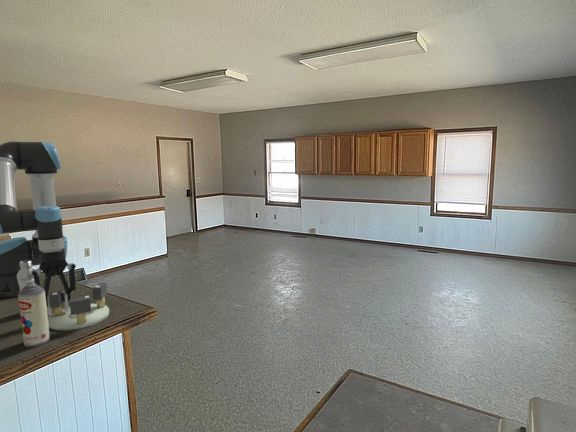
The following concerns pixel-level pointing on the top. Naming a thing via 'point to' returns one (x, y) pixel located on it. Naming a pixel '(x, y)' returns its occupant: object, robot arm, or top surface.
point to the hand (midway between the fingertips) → (58, 312)
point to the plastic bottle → (25, 273)
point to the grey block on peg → (100, 294)
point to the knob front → (80, 308)
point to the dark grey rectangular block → (56, 301)
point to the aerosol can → (34, 315)
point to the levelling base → (70, 321)
